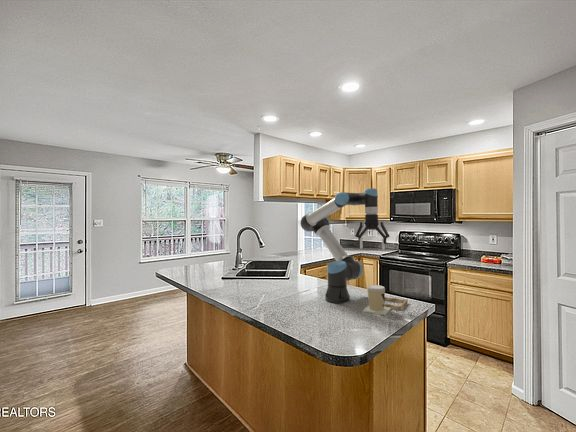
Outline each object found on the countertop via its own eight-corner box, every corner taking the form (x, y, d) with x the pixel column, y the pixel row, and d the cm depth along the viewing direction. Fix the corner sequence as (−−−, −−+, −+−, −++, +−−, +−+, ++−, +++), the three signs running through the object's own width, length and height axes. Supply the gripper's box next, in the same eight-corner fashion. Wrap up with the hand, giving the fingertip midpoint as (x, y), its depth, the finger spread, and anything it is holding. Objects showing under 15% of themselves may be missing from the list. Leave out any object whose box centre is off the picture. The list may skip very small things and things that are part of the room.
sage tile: (362, 311, 157) (362, 310, 157) (369, 305, 167) (369, 304, 167) (385, 315, 150) (385, 313, 150) (391, 309, 160) (391, 307, 160)
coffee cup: (386, 311, 153) (386, 289, 153) (368, 311, 155) (367, 288, 155) (384, 306, 162) (383, 285, 162) (367, 305, 164) (366, 284, 164)
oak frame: (374, 306, 166) (374, 302, 166) (381, 299, 178) (381, 296, 178) (401, 310, 158) (401, 306, 158) (407, 303, 170) (407, 299, 170)
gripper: (349, 214, 180) (350, 248, 180) (391, 213, 166) (391, 250, 166) (354, 214, 186) (354, 247, 186) (394, 213, 172) (395, 249, 172)
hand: (372, 249), depth 176 cm, fingers open, 13 cm apart
